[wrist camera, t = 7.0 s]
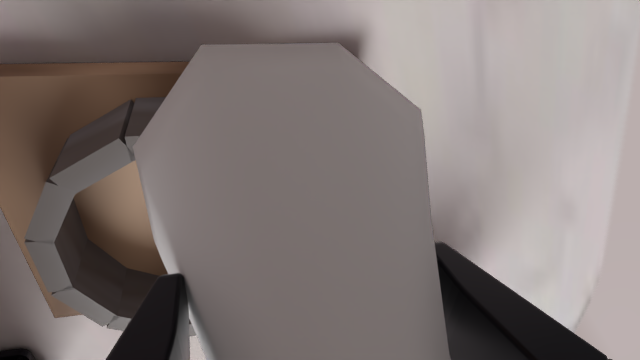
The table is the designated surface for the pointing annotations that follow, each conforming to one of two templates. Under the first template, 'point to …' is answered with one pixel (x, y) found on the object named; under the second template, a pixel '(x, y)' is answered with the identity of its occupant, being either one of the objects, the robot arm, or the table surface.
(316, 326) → the flask
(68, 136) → the collar stand
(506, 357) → the robot arm
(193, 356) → the table surface
